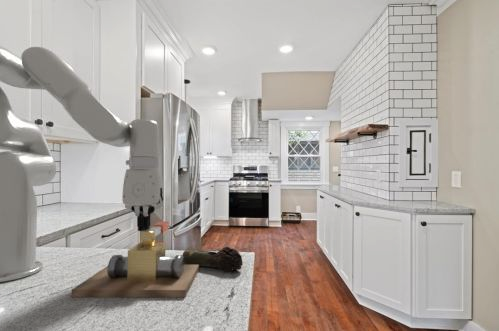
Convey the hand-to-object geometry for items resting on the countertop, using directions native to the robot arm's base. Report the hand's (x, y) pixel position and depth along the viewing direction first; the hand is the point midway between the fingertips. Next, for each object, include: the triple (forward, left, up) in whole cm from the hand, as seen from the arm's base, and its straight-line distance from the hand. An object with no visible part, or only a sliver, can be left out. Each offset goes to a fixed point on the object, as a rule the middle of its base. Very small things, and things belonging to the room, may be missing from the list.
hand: (143, 229), depth 72 cm
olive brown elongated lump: (+20, +1, -11) cm, 22 cm away
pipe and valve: (+5, -10, -9) cm, 14 cm away
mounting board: (+4, -10, -10) cm, 15 cm away
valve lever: (+5, -4, -1) cm, 7 cm away
